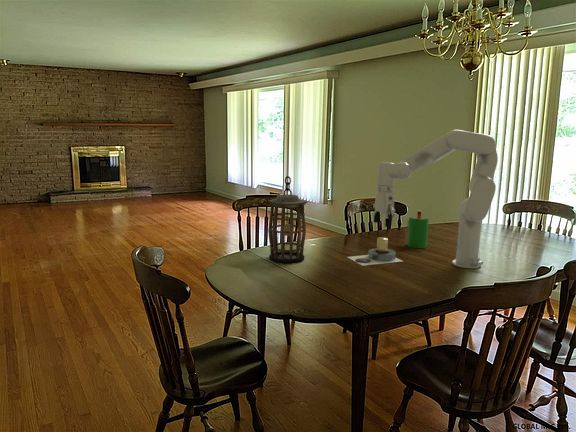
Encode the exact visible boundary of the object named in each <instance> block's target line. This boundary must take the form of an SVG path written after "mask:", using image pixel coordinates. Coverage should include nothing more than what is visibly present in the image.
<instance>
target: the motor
mask: <svg viewBox="0 0 576 432" xmlns="http://www.w3.org/2000/svg"><path fill="white" fill-rule="evenodd" d="M421 216H422V210H420V209H418V210H417V214H416V218H415V217H414V218H413V217H412V216H411V215H410V216H408V229H407V231H408V232H407V245H406V246H407V247H409V248H412V249H413V248H414V249H426V248H427V247H428V236H429V235H428V233H429V221H430V220H429V217H426V218H422V217H421Z"/></svg>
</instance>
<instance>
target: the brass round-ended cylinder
mask: <svg viewBox="0 0 576 432" xmlns="http://www.w3.org/2000/svg"><path fill="white" fill-rule="evenodd" d="M388 245H389V238H388V237H381V236H380V237H377V239H376V248H377V253H384V254H385V253H387V249H389V248H388Z"/></svg>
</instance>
